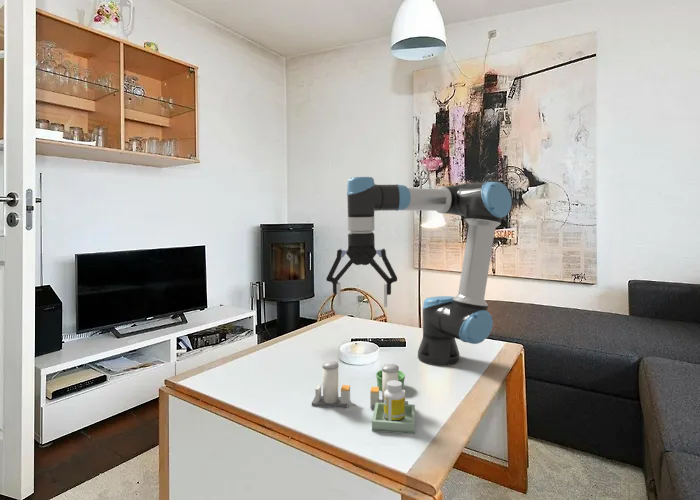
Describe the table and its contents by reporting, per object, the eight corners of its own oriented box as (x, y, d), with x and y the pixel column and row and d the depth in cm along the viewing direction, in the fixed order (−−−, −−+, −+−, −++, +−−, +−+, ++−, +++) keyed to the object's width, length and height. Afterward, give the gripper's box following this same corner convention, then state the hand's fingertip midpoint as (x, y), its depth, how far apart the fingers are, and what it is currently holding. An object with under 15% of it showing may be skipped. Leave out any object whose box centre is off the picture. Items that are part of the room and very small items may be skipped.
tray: (414, 413, 116) (414, 404, 115) (414, 434, 105) (414, 424, 105) (375, 410, 117) (375, 402, 117) (371, 430, 107) (371, 421, 106)
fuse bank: (408, 403, 121) (408, 364, 120) (407, 412, 116) (408, 371, 115) (315, 398, 125) (315, 359, 124) (311, 405, 120) (311, 366, 119)
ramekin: (397, 396, 126) (397, 382, 126) (370, 390, 131) (370, 376, 130) (409, 386, 134) (409, 372, 133) (384, 380, 138) (384, 366, 138)
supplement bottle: (408, 418, 112) (408, 382, 111) (398, 426, 107) (398, 389, 106) (390, 412, 115) (390, 377, 114) (379, 420, 110) (380, 384, 109)
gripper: (405, 230, 123) (405, 303, 125) (320, 231, 126) (322, 302, 128) (405, 232, 115) (405, 309, 118) (315, 233, 118) (317, 308, 121)
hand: (362, 305), depth 123 cm, fingers open, 13 cm apart
